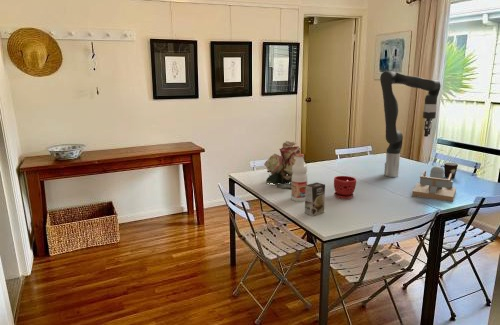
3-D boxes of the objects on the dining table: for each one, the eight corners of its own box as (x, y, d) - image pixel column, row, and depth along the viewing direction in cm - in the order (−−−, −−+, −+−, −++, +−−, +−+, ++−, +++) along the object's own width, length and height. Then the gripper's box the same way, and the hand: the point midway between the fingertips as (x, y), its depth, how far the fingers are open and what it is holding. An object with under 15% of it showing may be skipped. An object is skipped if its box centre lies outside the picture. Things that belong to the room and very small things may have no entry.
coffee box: (313, 216, 195) (313, 187, 191) (304, 213, 200) (305, 184, 196) (324, 212, 200) (325, 184, 196) (316, 209, 205) (316, 181, 201)
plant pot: (351, 201, 216) (352, 182, 213) (330, 198, 223) (331, 179, 220) (358, 195, 227) (359, 176, 224) (337, 192, 234) (338, 174, 231)
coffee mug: (455, 176, 264) (457, 162, 261) (456, 179, 256) (458, 165, 254) (437, 174, 269) (439, 161, 266) (438, 177, 261) (439, 164, 259)
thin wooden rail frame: (419, 184, 224) (420, 176, 223) (423, 177, 238) (424, 170, 237) (448, 188, 215) (449, 180, 214) (451, 181, 229) (452, 173, 228)
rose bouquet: (260, 185, 251) (259, 142, 244) (285, 176, 272) (285, 136, 265) (290, 192, 235) (291, 146, 228) (315, 182, 256) (316, 140, 249)
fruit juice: (294, 195, 228) (295, 152, 222) (309, 198, 224) (310, 153, 217) (288, 200, 220) (289, 155, 214) (303, 202, 216) (304, 156, 209)
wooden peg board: (412, 195, 225) (414, 169, 221) (417, 186, 242) (420, 162, 238) (452, 201, 213) (455, 174, 209) (455, 191, 230) (458, 166, 226)
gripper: (425, 109, 246) (422, 133, 250) (421, 111, 235) (419, 136, 239) (437, 110, 242) (434, 134, 246) (434, 112, 231) (431, 137, 235)
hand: (427, 135), depth 242 cm, fingers open, 8 cm apart
